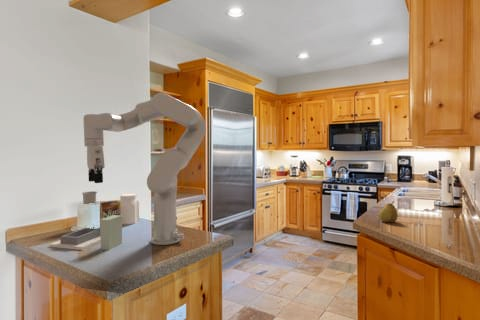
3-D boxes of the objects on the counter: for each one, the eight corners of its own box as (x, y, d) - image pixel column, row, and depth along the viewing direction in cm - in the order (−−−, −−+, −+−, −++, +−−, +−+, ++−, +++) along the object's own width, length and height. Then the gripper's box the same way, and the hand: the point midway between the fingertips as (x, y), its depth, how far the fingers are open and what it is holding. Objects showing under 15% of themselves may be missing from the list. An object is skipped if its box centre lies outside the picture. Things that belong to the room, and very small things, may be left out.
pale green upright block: (122, 243, 124) (121, 215, 123) (109, 249, 116) (108, 220, 116) (113, 242, 125) (113, 215, 124) (100, 249, 117) (100, 219, 117)
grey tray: (109, 238, 131) (109, 228, 131) (82, 250, 116) (82, 239, 115) (80, 235, 135) (80, 226, 135) (49, 246, 119) (49, 236, 119)
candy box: (100, 235, 136) (100, 202, 135) (99, 232, 140) (99, 201, 139) (121, 232, 141) (120, 200, 140) (119, 230, 144) (118, 199, 144)
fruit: (375, 220, 164) (376, 199, 164) (389, 219, 167) (389, 198, 166) (386, 224, 156) (387, 202, 156) (401, 223, 158) (401, 201, 158)
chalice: (86, 225, 152) (85, 191, 152) (99, 225, 153) (99, 191, 152) (79, 229, 145) (79, 193, 144) (94, 229, 146) (93, 193, 145)
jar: (124, 219, 166) (124, 193, 166) (141, 219, 166) (140, 193, 166) (115, 224, 155) (115, 196, 154) (133, 224, 155) (133, 196, 154)
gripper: (109, 142, 123) (110, 182, 123) (98, 143, 136) (99, 180, 137) (89, 142, 118) (91, 184, 119) (80, 143, 131) (81, 181, 132)
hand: (95, 182), depth 128 cm, fingers open, 9 cm apart
